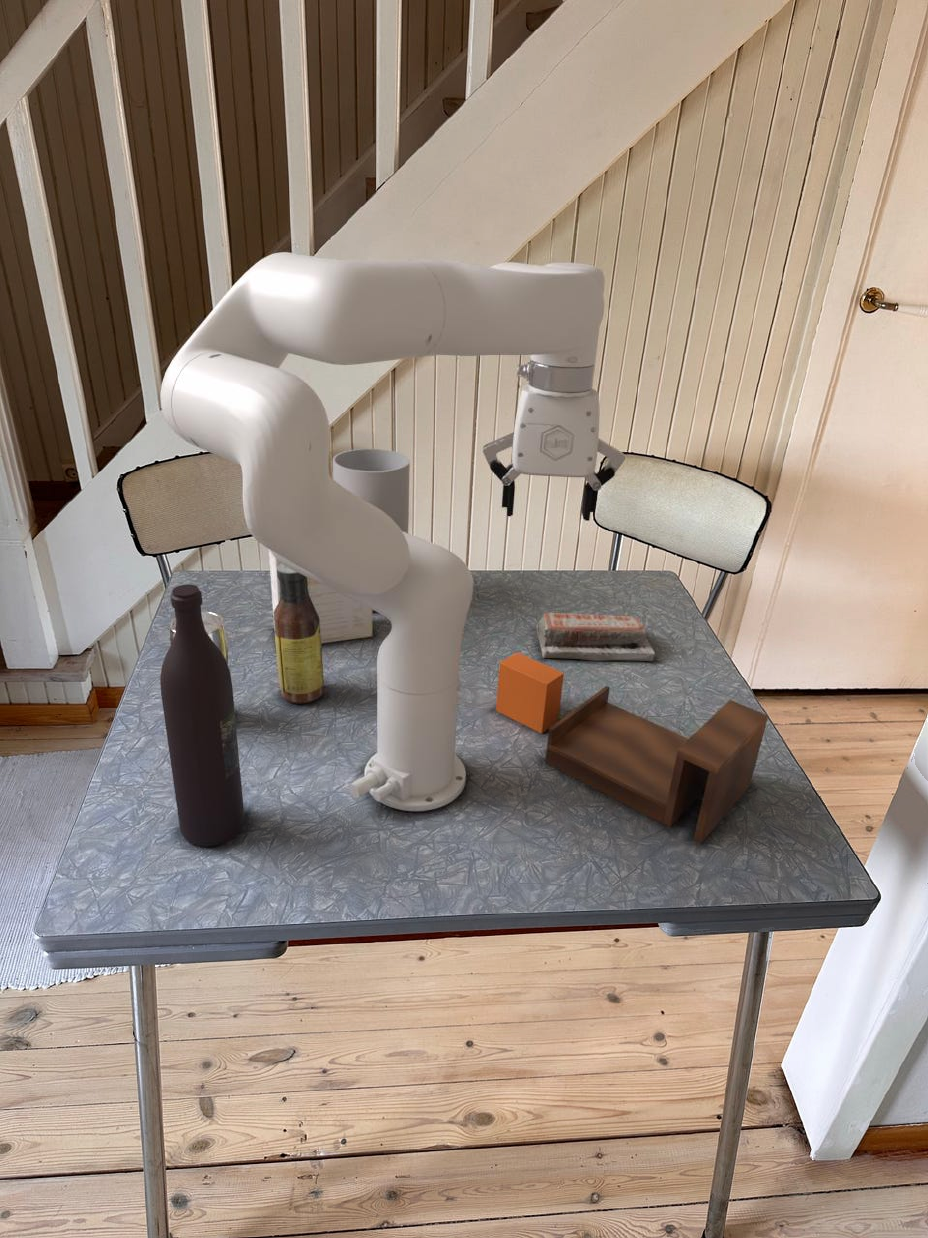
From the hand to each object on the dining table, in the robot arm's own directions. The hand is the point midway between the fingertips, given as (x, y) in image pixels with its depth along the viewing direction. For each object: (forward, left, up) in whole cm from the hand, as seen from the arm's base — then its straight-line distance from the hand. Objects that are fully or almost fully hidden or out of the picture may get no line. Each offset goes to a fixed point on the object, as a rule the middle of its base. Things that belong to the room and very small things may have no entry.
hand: (547, 514), depth 106 cm
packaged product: (+22, +3, -30) cm, 37 cm away
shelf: (-2, -20, -29) cm, 36 cm away
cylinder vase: (+9, +41, -30) cm, 51 cm away
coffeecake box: (-6, +37, -30) cm, 48 cm away
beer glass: (-33, +30, -30) cm, 53 cm away
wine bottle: (-45, +12, -30) cm, 55 cm away
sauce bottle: (-20, +26, -30) cm, 44 cm away
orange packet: (-2, -1, -29) cm, 29 cm away
